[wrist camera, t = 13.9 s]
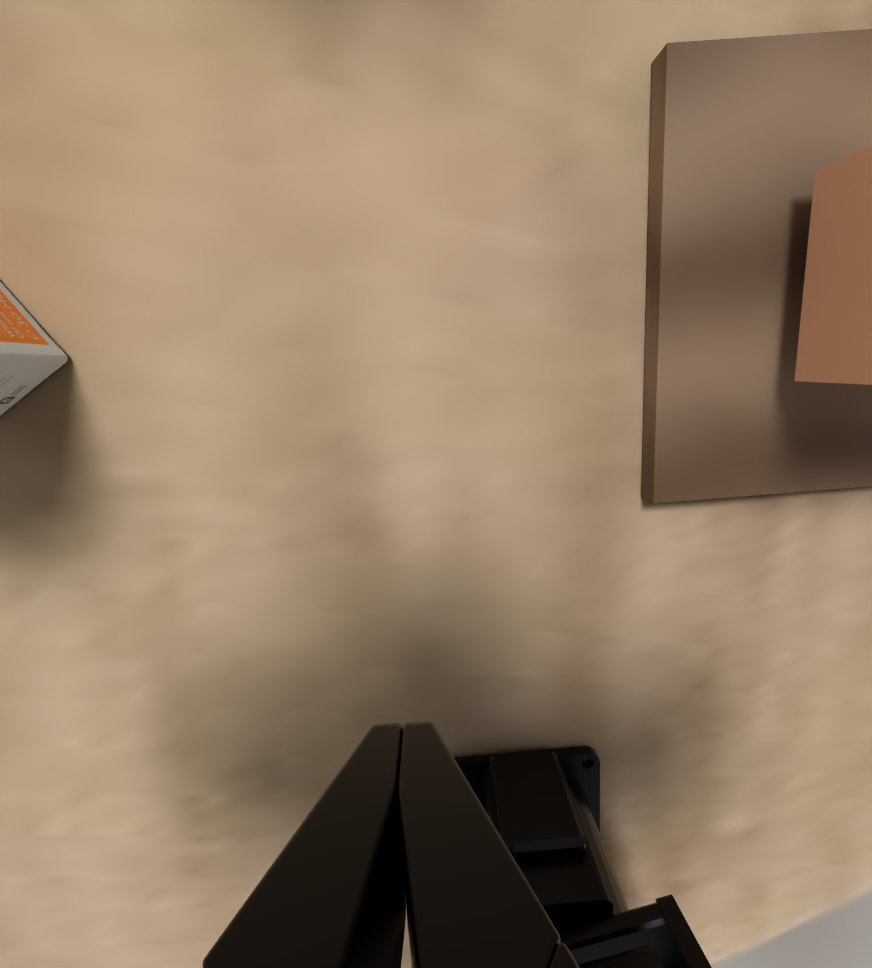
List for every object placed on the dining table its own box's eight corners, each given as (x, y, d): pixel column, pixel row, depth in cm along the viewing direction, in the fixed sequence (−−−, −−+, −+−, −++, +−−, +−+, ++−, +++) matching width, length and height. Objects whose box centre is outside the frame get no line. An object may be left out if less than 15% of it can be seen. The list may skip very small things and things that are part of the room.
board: (1006, 467, 19) (1037, 472, 18) (641, 496, 19) (653, 503, 18) (1092, 33, 16) (1137, 10, 15) (651, 63, 16) (667, 43, 15)
